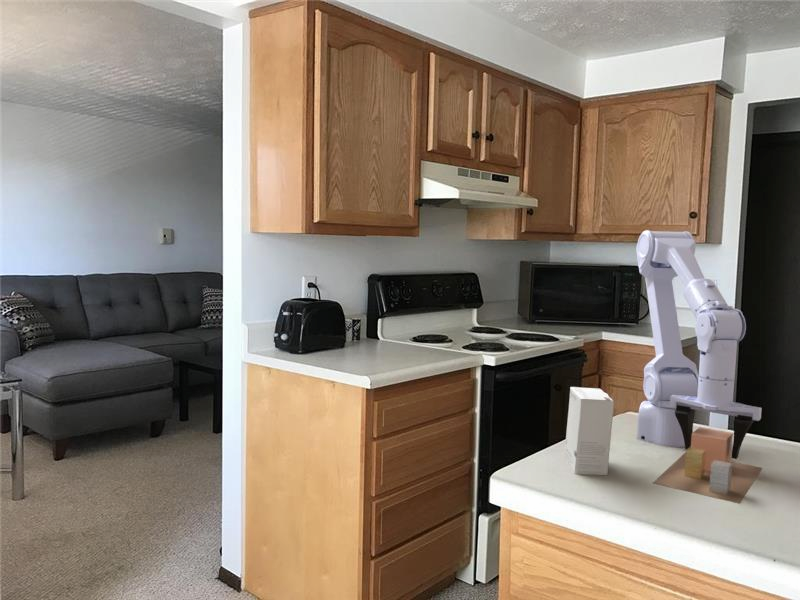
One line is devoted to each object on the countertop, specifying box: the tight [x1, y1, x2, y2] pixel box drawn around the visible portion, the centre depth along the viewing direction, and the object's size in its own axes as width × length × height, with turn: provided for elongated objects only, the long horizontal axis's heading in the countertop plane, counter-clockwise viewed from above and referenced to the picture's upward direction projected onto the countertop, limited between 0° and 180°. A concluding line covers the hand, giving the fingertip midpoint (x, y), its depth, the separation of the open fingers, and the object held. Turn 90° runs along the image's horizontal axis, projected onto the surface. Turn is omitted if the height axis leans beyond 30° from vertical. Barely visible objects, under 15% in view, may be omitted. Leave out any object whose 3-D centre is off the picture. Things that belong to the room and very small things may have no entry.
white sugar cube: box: [709, 460, 732, 495], centre depth 107 cm, size 3×3×4 cm
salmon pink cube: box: [691, 426, 734, 471], centre depth 119 cm, size 6×6×6 cm
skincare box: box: [563, 386, 615, 476], centre depth 117 cm, size 8×6×15 cm
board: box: [652, 451, 763, 504], centre depth 115 cm, size 13×21×2 cm, turn 143°
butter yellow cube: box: [684, 447, 706, 479], centre depth 114 cm, size 3×3×4 cm
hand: (711, 452), depth 119 cm, fingers open, 7 cm apart
